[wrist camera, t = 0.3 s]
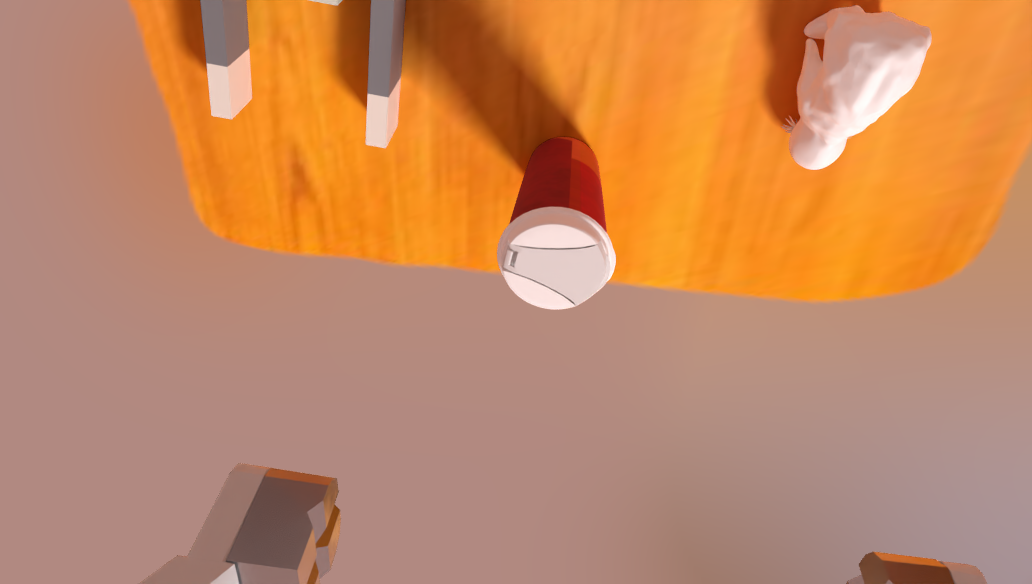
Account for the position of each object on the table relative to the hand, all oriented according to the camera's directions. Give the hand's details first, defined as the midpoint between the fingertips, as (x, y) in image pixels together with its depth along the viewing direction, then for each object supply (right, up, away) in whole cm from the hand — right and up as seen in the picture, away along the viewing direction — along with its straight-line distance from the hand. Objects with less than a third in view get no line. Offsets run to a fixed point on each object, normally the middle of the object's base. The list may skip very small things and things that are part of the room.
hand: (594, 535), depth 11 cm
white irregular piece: (+21, +19, +41) cm, 50 cm away
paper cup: (+3, +14, +48) cm, 50 cm away
